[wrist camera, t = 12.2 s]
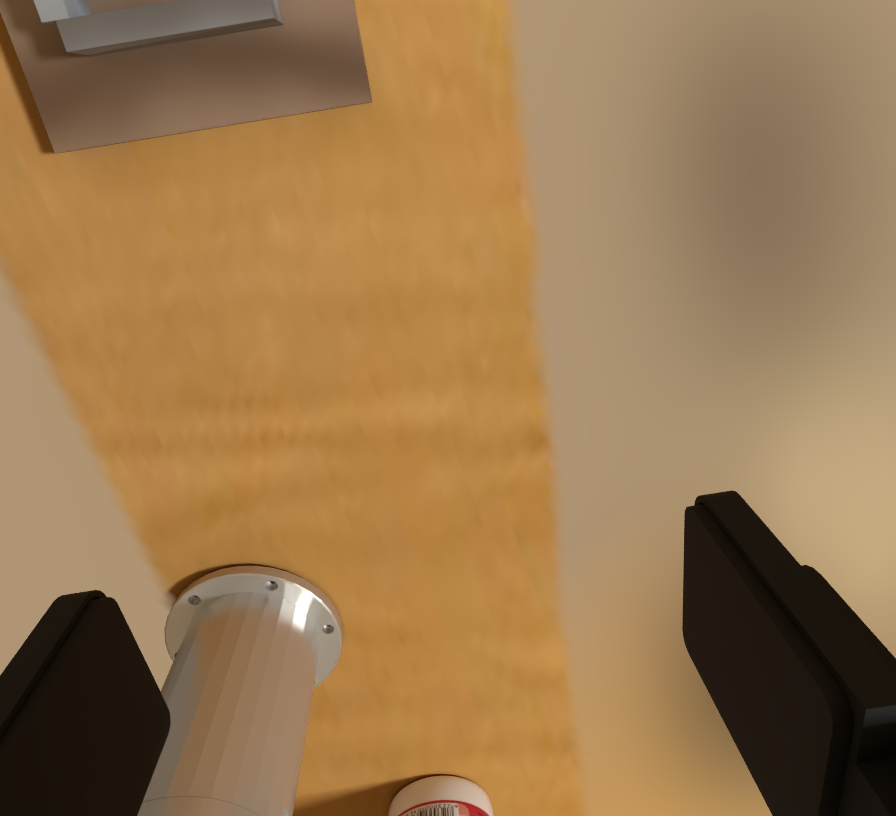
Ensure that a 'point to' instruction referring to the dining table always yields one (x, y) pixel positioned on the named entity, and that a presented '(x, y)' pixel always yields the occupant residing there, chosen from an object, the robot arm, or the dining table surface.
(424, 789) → the fruit juice
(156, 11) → the bottle holder
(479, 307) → the dining table surface
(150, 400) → the dining table surface
